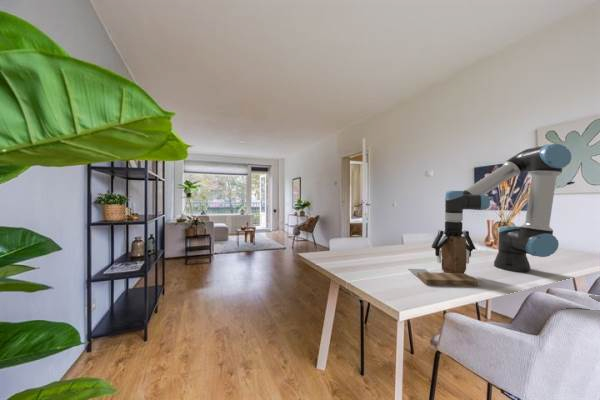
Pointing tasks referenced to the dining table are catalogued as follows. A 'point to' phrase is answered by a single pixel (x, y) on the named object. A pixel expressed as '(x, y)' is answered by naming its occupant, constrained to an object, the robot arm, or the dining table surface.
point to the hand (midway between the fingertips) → (452, 262)
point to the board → (447, 279)
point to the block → (454, 255)
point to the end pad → (417, 271)
